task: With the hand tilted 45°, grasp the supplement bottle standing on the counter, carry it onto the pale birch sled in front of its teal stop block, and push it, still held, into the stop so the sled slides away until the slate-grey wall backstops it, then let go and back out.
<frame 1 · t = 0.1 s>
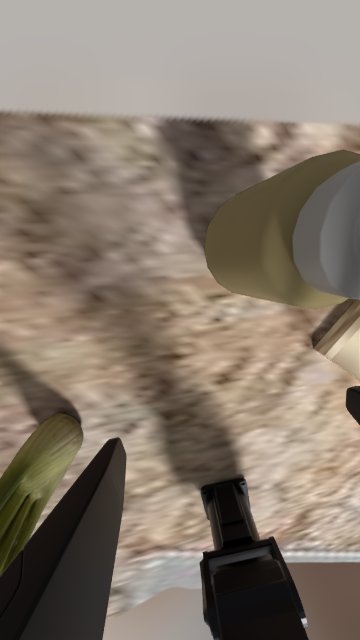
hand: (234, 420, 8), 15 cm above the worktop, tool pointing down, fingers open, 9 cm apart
squeeze bottle: (237, 247, 21), on the worktop
fennel bulb: (67, 424, 25), on the worktop
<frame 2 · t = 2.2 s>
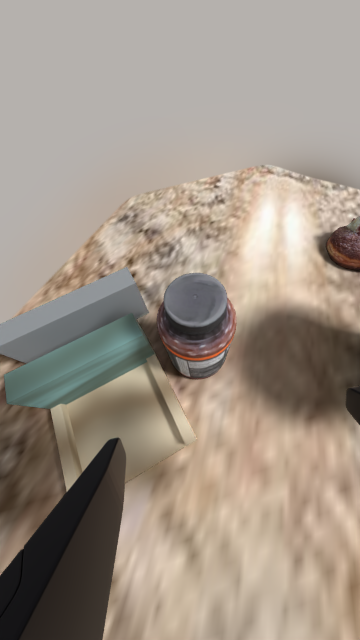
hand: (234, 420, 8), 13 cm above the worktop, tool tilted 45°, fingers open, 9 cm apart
supplement bottle: (197, 353, 23), on the worktop
backstop wall: (92, 331, 25), on the worktop
pastry: (355, 252, 28), on the worktop
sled: (108, 409, 18), point 3 cm above the worktop, slide at 0.0 cm
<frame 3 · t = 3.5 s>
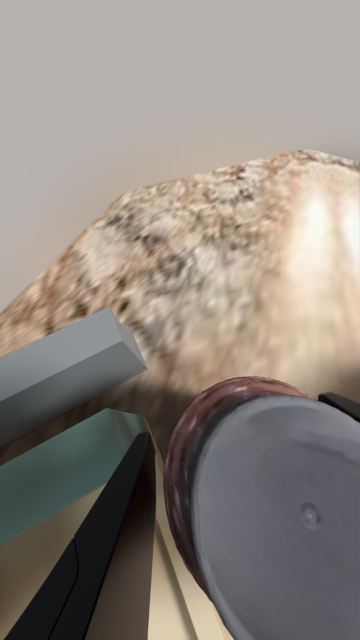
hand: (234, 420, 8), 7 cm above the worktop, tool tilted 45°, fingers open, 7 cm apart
supplement bottle: (229, 449, 14), on the worktop
backstop wall: (58, 399, 16), on the worktop
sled: (55, 610, 9), point 3 cm above the worktop, slide at 0.4 cm
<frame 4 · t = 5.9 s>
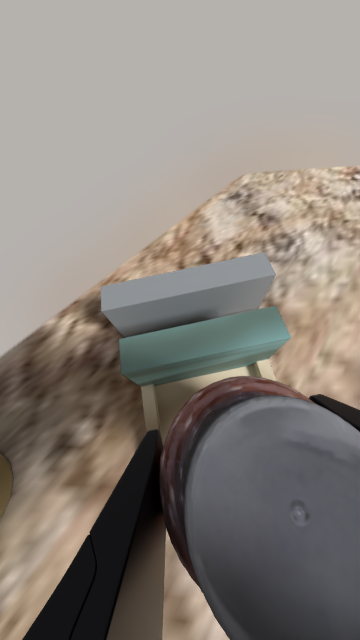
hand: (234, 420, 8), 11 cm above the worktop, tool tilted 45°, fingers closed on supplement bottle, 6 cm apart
supplement bottle: (225, 446, 14), point 3 cm above the worktop, touching gripper
backstop wall: (189, 315, 22), on the worktop
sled: (215, 410, 15), point 3 cm above the worktop, slide at 0.4 cm
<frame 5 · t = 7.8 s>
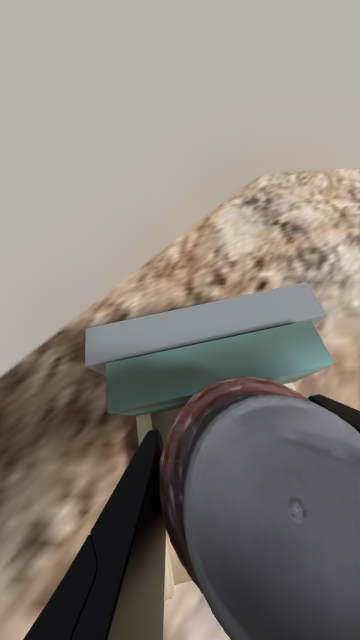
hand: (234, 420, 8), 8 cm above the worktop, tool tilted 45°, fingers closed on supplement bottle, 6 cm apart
supplement bottle: (225, 448, 14), point 1 cm above the worktop, touching gripper
backstop wall: (201, 352, 18), on the worktop
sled: (231, 455, 11), point 3 cm above the worktop, slide at 3.1 cm
when the fingers open (8 cm above the worktop, at t = 8.0 s): supplement bottle stays where it is, resting on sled.
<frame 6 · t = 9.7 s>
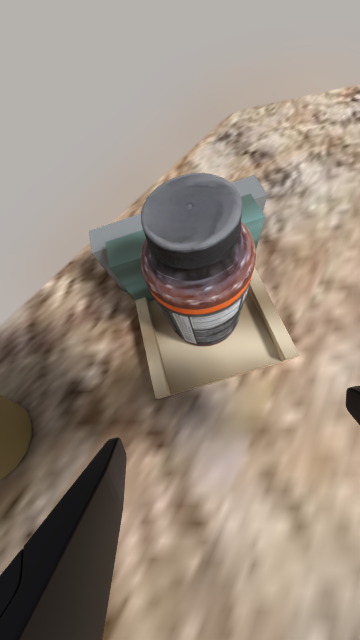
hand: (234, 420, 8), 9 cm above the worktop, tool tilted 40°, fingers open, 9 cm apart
supplement bottle: (203, 316, 19), point 1 cm above the worktop, touching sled
backstop wall: (184, 261, 22), on the worktop
squeeze bottle: (4, 438, 18), on the worktop
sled: (202, 303, 16), point 3 cm above the worktop, slide at 3.3 cm, touching supplement bottle
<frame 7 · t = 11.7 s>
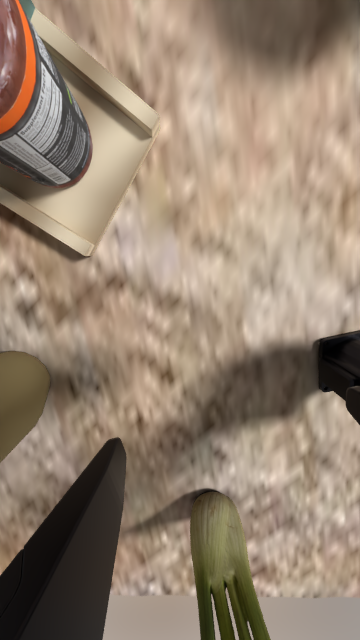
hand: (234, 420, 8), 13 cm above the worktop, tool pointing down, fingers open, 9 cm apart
supplement bottle: (54, 145, 15), point 1 cm above the worktop, touching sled
squeeze bottle: (22, 375, 21), on the worktop
fennel bulb: (210, 495, 28), on the worktop
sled: (32, 123, 13), point 3 cm above the worktop, slide at 3.3 cm, touching supplement bottle
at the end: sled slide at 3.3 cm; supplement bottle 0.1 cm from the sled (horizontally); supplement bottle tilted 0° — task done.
